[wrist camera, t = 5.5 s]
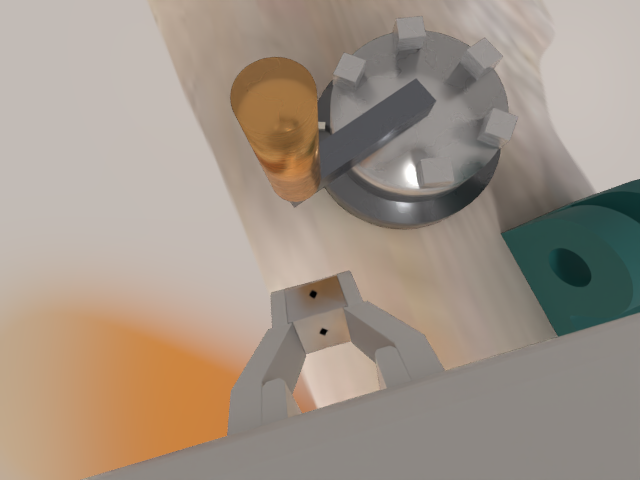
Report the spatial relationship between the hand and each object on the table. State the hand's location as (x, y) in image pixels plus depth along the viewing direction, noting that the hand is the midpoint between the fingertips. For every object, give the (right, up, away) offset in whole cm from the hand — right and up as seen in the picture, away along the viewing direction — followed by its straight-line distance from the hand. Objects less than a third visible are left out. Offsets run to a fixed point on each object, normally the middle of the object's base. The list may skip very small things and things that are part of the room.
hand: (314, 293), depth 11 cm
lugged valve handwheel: (+5, +9, +11) cm, 15 cm away
